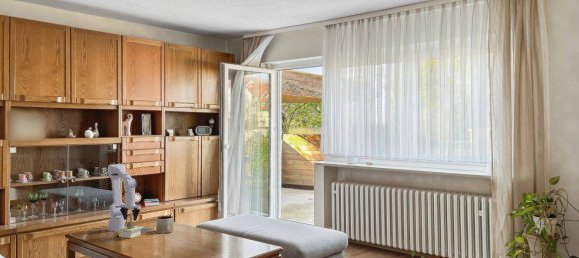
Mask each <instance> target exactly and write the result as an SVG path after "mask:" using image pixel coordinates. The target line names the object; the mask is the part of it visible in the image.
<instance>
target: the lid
mask: <svg viewBox="0 0 579 258" xmlns="http://www.w3.org/2000/svg"><path fill="white" fill-rule="evenodd" d="M142 228H145V227H144V226H137V225H135V221H134V220H133V221H132V220H129V221H127V222H126V226H124V227H123V228H120V229H117V231H126V232H133V231H136V230H139V229H142Z"/></svg>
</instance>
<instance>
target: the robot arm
mask: <svg viewBox="0 0 579 258" xmlns="http://www.w3.org/2000/svg"><path fill="white" fill-rule="evenodd" d="M107 173H108V174H107V176H108V178H110V181H111V188H112V189H111V190H112V200H113V203H112V204H111V205H110V206H109V216H110V217H109V219H108V230H107V231H109V232H115V233H116V232H117V233H119V231H117V229H120V228H123V227H125V220H128V211H129V209H131V212H132V219H133V221H134V222H136V221H137V220H138V217H139V213H140V211H141V210H142V209H141V205H137V204H136V188H137V180H136V179H135V178H133V177H132V176H131V175H130V174H129V173H127V172H126V165H125V164H124V163H119V164H118V163H116V164H108V165H107ZM120 180H121V182H122V183H123V188H124V189H123V190H124V194H125V195H124V197H125V199H124V202H123V201H122V196H121V195H122V192H121V186H120Z"/></svg>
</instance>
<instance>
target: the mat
mask: <svg viewBox="0 0 579 258" xmlns="http://www.w3.org/2000/svg"><path fill="white" fill-rule="evenodd" d="M151 230H152V231H153V230H154V228H147V227H144V228H142V229H141V234H143V233H147V232H149V231H151Z"/></svg>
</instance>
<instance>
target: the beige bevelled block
mask: <svg viewBox="0 0 579 258" xmlns="http://www.w3.org/2000/svg"><path fill="white" fill-rule="evenodd" d="M141 234H142V233H141V229H139V230H136V231H133V232H126V231H119V232H118V237H119V238H122V239H123V238H124V239H133V238H137V237H139V236H140V237H141Z"/></svg>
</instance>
